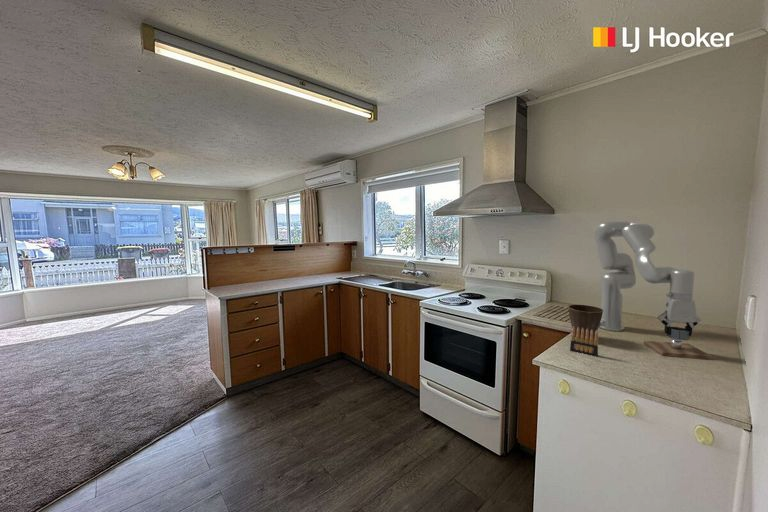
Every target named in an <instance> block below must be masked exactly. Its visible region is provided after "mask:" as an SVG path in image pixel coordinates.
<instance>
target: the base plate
mask: <svg viewBox="0 0 768 512" xmlns="http://www.w3.org/2000/svg"><path fill="white" fill-rule="evenodd" d="M643 344H644V345H645V346H646V347H648V348H650V349H652V350H653V351H654V352H656V353H657V354H659V355H660V356H662V357H673V358H674V357H675V358H687V359H688V358H689V359H702V360H712V357H713V356H712V355H711V354H708V353H707V352H705V351H703V350H702V349H700V348H697V347H695V346H694V345H691V344H690V343H685V342H682V347H681V349H680V350H678V349H673V348H671V341H670V342H669V341H668V342H667V341H654V340H653V341H652V340H651V341H650V340H644V341H643Z"/></svg>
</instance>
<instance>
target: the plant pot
mask: <svg viewBox="0 0 768 512" xmlns="http://www.w3.org/2000/svg"><path fill="white" fill-rule="evenodd" d="M602 314H603V310H602V309H601V307H597V306H593V305H586V304H571V305H568V316H569V320H570V325H571V328H573V326H574V327H575V338H576V332H577V328H578V327H579V331H580V336H581V330H582V328H584V340H585V334H586V329H587V328H588V331H589V338H590V332H591V330H593V338H594V337H595V332H596V330H597V331H599V330H598V329H599V328H600V327H599V324H600V321H601V318H602Z"/></svg>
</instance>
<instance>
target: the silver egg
mask: <svg viewBox="0 0 768 512" xmlns="http://www.w3.org/2000/svg"><path fill="white" fill-rule="evenodd" d="M670 343H671V348H673V349H678V350H680V349H681V347H682V343H683V340H678V339H673V338H670Z"/></svg>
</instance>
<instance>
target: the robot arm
mask: <svg viewBox="0 0 768 512" xmlns="http://www.w3.org/2000/svg"><path fill="white" fill-rule="evenodd" d="M654 235H655V230H654V228H653V227H652V226H651V225H649V224H647V223H639V222H632V221H625V220H624V221H606V222H602V223H600V224H599V225H597V226H596V228H595V230H594V239H595V243H596V245H597V252H598V258H599V263H600V266H601V268H602V269H603V270H605V271H611V272H606V273H604V274H602V276H601V277H600V281H599V282H600V287H601V297H600V299H601V302H600V303H601V304H600V308H601V309H602V310H603V314H602V318H601V321H600V324H599V327H598V328H600V329H603V330H606V331H612V332H620V331H621V332H623V331H624V330H625V327H624V326H623V325H622V313H623V295H622V292H621V290H624V289H625V290H627V289H631V288H633V287H634V286H635V285H636V282H637V277H636V276H637V275H636V272H635V267H636V269H637V271H638V272H639V273H638V274H640V275H641V277H642V278H643V280H645V281H646V282H648V283H650V284H669V292H668V293H666V295H665V296H666V297H667V298H666V299H667V300H666V302H665V304H664V310H663V311H664V312H662V313H660V315H658V316H657V319H658V320H659V321H660V322H661V323H662V325H664V331H663V332H664V334H665V335H666V336H667V335H671V329H672V327H670V326H672V325H673V323H683V324H684V323H685V326H684V328H685V329H688V330H690V334H689V338H690V337H692V334H693V329H694V328H695V326H697V325H698V324H699V323H700V322H701V321H702V318H701V317H699V316H698V315H697V306H696V302H695V300H693V292H694V291H693V290H694V278H695V273H694V271H693V270H689V269H682V268H681V269H680V268H676V267H669V266H660V267H659V266H658V267H656V266H655V265H654V264H653V262H652V261H651V259H650V254H652V253H653V252H655V250H656V248H657V247H656V245H655V243H654V242H653V241H652V240H651V239H652V238H653V236H654ZM612 237H613V238H614V237H615V238H618V237H623V239H624V240H625V241H626V242H627V244H628V246H629V247H630V248H631V249H632V252H634V254H635V259H634V261H633V259H632V258H631V256H630V255H629V254H627V253H625V252H624V253H623V252H618V249H617V244H616V243H615V241H614V239H612ZM634 262H635V267H634ZM612 271H614V272H612Z"/></svg>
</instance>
